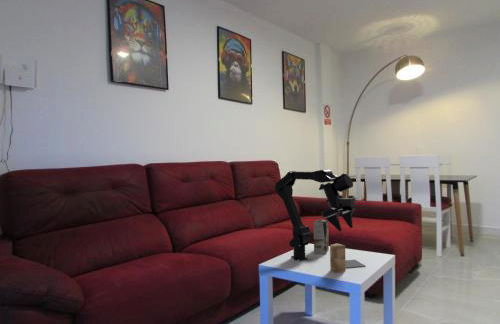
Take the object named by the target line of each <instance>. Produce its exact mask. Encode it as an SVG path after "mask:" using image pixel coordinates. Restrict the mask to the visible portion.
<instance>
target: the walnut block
mask: <svg viewBox="0 0 500 324" xmlns="http://www.w3.org/2000/svg"><path fill="white" fill-rule="evenodd" d="M329 253H330V255H329V257H330V258H329V260H330V266H329V268H330V271H331V272H334V273H337V274H340V273H343V272H346V269H347V268H346V262H345V260H346V245H344V244H341V243H334V244H330V245H329Z"/></svg>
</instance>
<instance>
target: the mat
mask: <svg viewBox="0 0 500 324" xmlns="http://www.w3.org/2000/svg"><path fill="white" fill-rule="evenodd" d="M345 262H346V269H354V268H365V267H366V265H365V264H363V263H362V262H360V261H358V260H357V259H345Z"/></svg>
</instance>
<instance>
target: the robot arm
mask: <svg viewBox="0 0 500 324" xmlns="http://www.w3.org/2000/svg"><path fill="white" fill-rule="evenodd" d="M296 180H304V181H305V180H309V181H314V182H317V183H320V185H319V188H318V190H319V191H322V190H323V191H324V194H325V198H326V200H325V202H326V204H327V203H328V205H329V207H330V208H328V209H325V210H322V212H321V216H322V218H323V219H324V220H328V223H330V224H331V225H333V227H334V228H335V229H336V230H337V231H338V232H341V231H343V230H342V226H341V222H340V220H339V217H340V216H341V217H342V218H343V220H344V221H345V222H346V223H345V224H347V226H348V227H349V228H350V229H352V228H353V227H354V226H353V214H354V212H355V210H356V202H357V199H356V197H355V195H348V197H343V195H342V194H340V193H343V192H344V191H347V190H350V189H351V188H353V187H354V181H353V180H352V178H351V177H350V176H349V175H348V174H347V173H346V172H345V173H342V174H340V175H339V176H338V175H336V174H334V173H333V171H332V170H331V169H320V170H315V171H295V170H290V171H288V172H287V173H286V174H285V175H283V176H282V178H280V179H279V180H278V181H277V182H276V183H275V184H274V190H275V192H276V193H277V196H278V197H279V198H280V199H281V200H282V201H283V204H284V207H285V208H286V212H287V215H288V217H289V219H290V223H291V225H292V233H291V235H292V237H293V238H291V240H290V241H289V242H288V244H289V247H291V248H292V249H293V251H292V252H293V255H291V256H290V257H291V258H292V259H293V260H294V261H305V260H308V259H309V258H308V257H307V256H306V246H308V245H309V243H310V241H311V240H312V239H311V238H312V235H311V234H312V232H311V231H310V227H309V225H306V226H305V225H304V223H303V221H302V219H301V216H300V214H299V211H298V208H297V206H296V204H295V199H293V191H294V190H293V186H294V185H295V183H296ZM340 214H341V215H340Z"/></svg>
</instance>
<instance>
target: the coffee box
mask: <svg viewBox="0 0 500 324" xmlns="http://www.w3.org/2000/svg"><path fill="white" fill-rule="evenodd" d="M328 251H330V245H329V221H328V220H327V219H315V221H313V254H318V255H319V254H321V255H326V254H327V253H328Z"/></svg>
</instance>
